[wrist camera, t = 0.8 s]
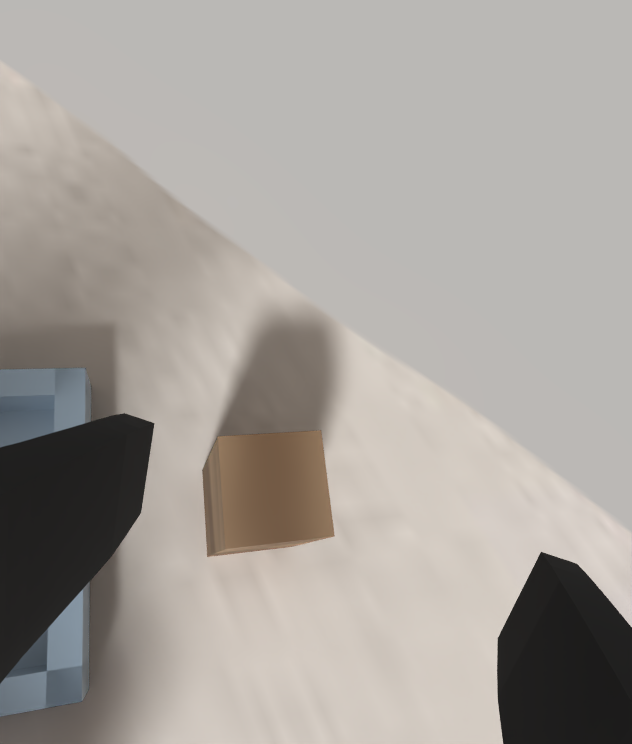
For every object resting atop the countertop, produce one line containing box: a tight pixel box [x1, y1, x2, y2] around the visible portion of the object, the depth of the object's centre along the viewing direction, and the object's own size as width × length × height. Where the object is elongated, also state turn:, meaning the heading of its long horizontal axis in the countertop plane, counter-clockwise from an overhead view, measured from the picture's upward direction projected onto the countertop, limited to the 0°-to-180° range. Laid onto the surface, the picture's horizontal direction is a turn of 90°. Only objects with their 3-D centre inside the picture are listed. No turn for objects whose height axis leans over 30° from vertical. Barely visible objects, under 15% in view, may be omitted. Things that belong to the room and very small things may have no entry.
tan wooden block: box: [202, 430, 334, 557], centre depth 24 cm, size 4×4×7 cm
